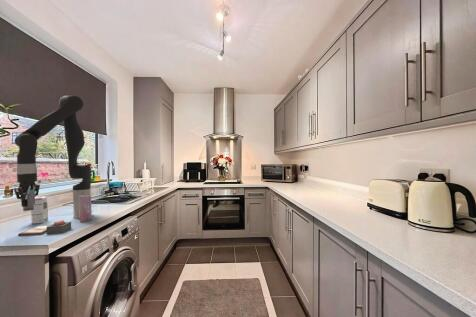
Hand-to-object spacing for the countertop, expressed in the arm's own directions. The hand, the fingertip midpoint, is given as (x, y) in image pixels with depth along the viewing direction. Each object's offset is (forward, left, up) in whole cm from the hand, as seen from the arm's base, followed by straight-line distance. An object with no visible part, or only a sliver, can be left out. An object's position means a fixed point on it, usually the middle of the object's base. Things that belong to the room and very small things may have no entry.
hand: (28, 205), depth 114 cm
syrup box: (-17, -6, -13) cm, 22 cm away
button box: (+5, +18, -13) cm, 22 cm away
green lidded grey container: (0, 0, -2) cm, 2 cm away
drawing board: (+3, +7, -13) cm, 15 cm away
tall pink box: (-13, +21, -13) cm, 27 cm away
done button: (+5, +18, -10) cm, 21 cm away
